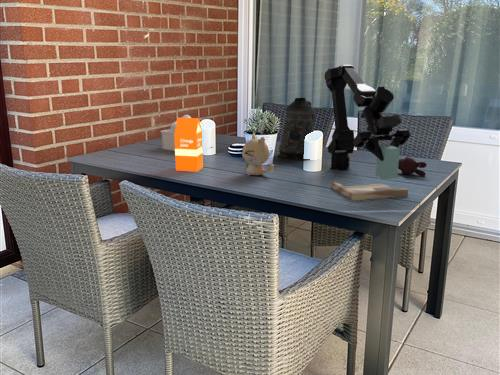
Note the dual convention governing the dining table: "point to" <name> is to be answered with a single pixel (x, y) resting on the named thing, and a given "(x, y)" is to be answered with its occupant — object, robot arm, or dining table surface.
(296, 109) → the dark translucent jar
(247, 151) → the kitten
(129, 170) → the dining table surface
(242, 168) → the dining table surface
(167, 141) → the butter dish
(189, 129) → the orange juice
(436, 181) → the dining table surface
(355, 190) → the tan tray
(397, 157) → the block
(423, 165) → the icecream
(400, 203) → the dining table surface
